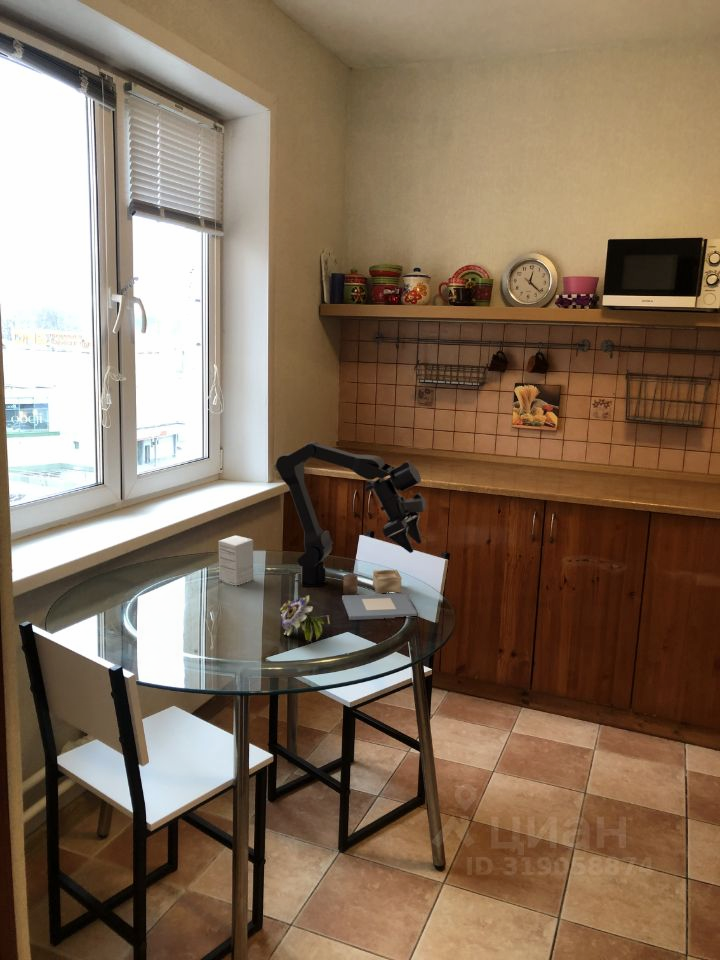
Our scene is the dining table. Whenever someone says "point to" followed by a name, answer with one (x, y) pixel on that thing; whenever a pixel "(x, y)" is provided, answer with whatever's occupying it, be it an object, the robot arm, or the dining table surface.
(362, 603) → the grey rectangular plate
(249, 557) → the supplement box
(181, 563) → the dining table surface
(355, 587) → the walnut peg
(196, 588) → the dining table surface
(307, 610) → the passion flower
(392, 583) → the oak socket block
